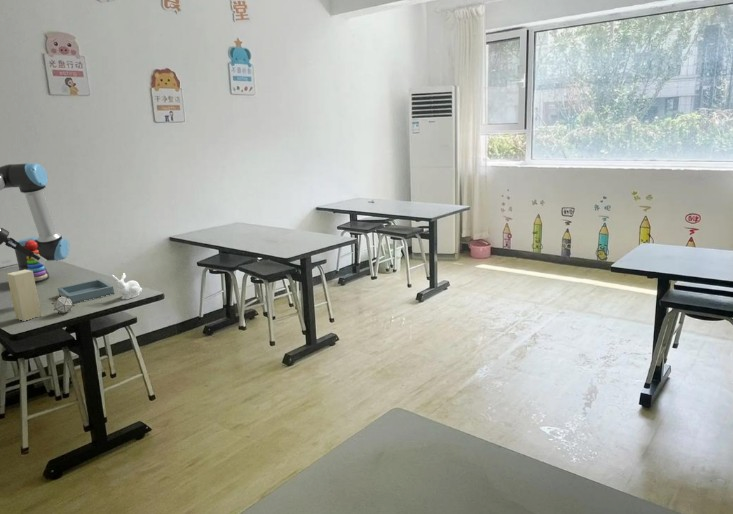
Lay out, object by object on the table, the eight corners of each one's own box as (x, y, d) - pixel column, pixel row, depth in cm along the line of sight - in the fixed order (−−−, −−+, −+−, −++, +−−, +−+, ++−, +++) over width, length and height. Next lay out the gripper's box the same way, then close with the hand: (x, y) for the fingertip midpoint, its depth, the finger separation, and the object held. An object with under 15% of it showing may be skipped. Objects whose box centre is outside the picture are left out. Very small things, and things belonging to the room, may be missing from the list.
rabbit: (124, 301, 257) (119, 277, 254) (112, 298, 262) (108, 274, 259) (146, 294, 267) (142, 270, 264) (134, 291, 272) (131, 268, 269)
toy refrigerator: (34, 313, 247) (24, 268, 241) (42, 316, 243) (32, 270, 237) (15, 319, 240) (5, 273, 235) (23, 322, 236) (13, 275, 231)
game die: (63, 320, 247) (58, 300, 250) (80, 312, 247) (75, 292, 250) (50, 317, 239) (45, 296, 242) (67, 309, 239) (62, 288, 242)
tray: (59, 295, 271) (57, 288, 270) (101, 286, 284) (100, 278, 283) (70, 304, 257) (68, 296, 256) (114, 294, 269) (113, 286, 268)
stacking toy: (51, 276, 263) (44, 238, 258) (40, 281, 255) (32, 242, 250) (36, 276, 264) (28, 238, 259) (24, 281, 256) (16, 242, 251)
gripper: (-14, 238, 251) (34, 264, 266) (-7, 244, 237) (43, 271, 252) (-3, 224, 253) (44, 251, 268) (5, 229, 239) (53, 258, 254)
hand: (43, 261), depth 260 cm, fingers closed on stacking toy, 6 cm apart
